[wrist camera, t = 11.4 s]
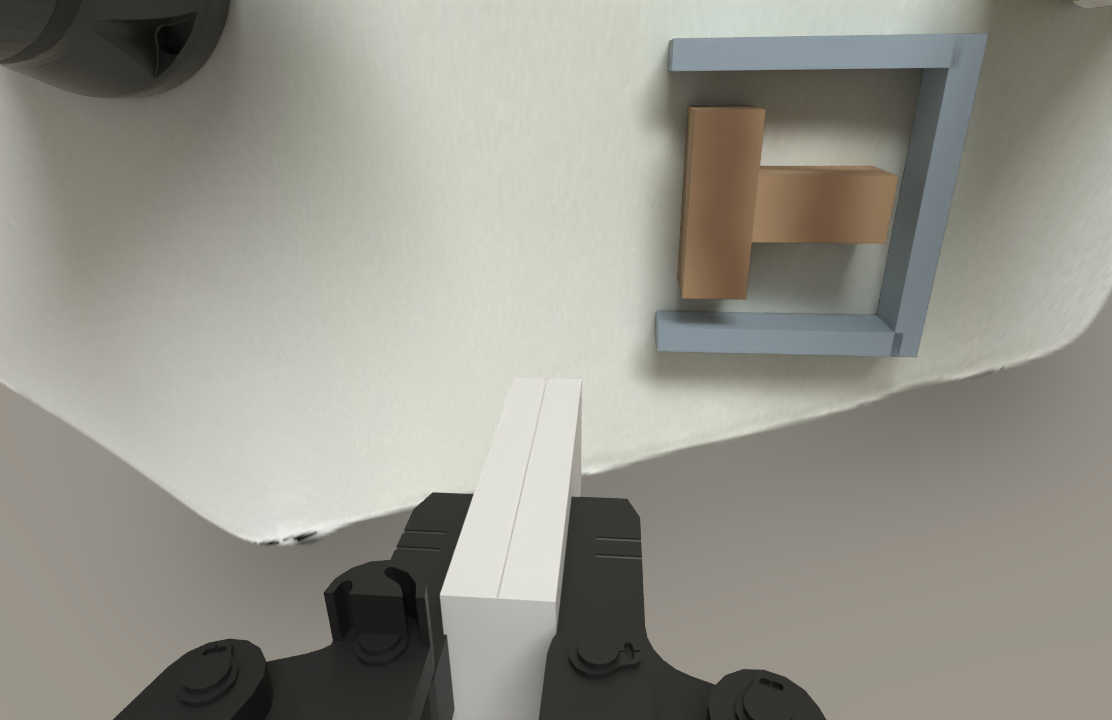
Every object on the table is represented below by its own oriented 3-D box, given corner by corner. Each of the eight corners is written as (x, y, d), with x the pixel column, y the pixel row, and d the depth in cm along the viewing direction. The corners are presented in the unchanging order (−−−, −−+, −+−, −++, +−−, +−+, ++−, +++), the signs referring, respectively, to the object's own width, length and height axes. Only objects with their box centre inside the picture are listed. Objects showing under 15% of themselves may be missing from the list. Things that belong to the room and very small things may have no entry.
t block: (677, 278, 41) (682, 298, 38) (688, 106, 37) (695, 110, 34) (852, 280, 41) (874, 301, 37) (882, 104, 37) (911, 108, 33)
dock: (655, 332, 43) (657, 351, 40) (669, 40, 36) (673, 38, 33) (897, 338, 42) (916, 357, 39) (959, 35, 35) (988, 33, 32)
